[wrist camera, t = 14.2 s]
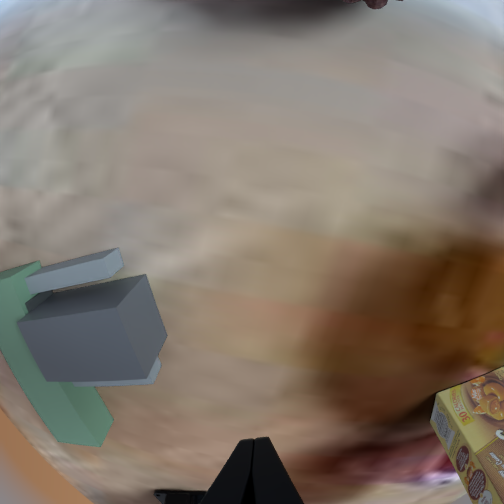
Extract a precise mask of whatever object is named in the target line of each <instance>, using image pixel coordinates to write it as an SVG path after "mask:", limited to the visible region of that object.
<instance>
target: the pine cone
mask: <svg viewBox="0 0 504 504" xmlns="http://www.w3.org/2000/svg"><path fill="white" fill-rule="evenodd" d="M342 1H344V2H346V3H349V4H350V3H355V2H358V1H361V0H342ZM363 1H365V2H366V4H367V6H368V7H370V8H372V9H380V8H382V7H383V6H385V5H386V4H387V1H388V0H363ZM398 1H403V0H398Z"/></svg>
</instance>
